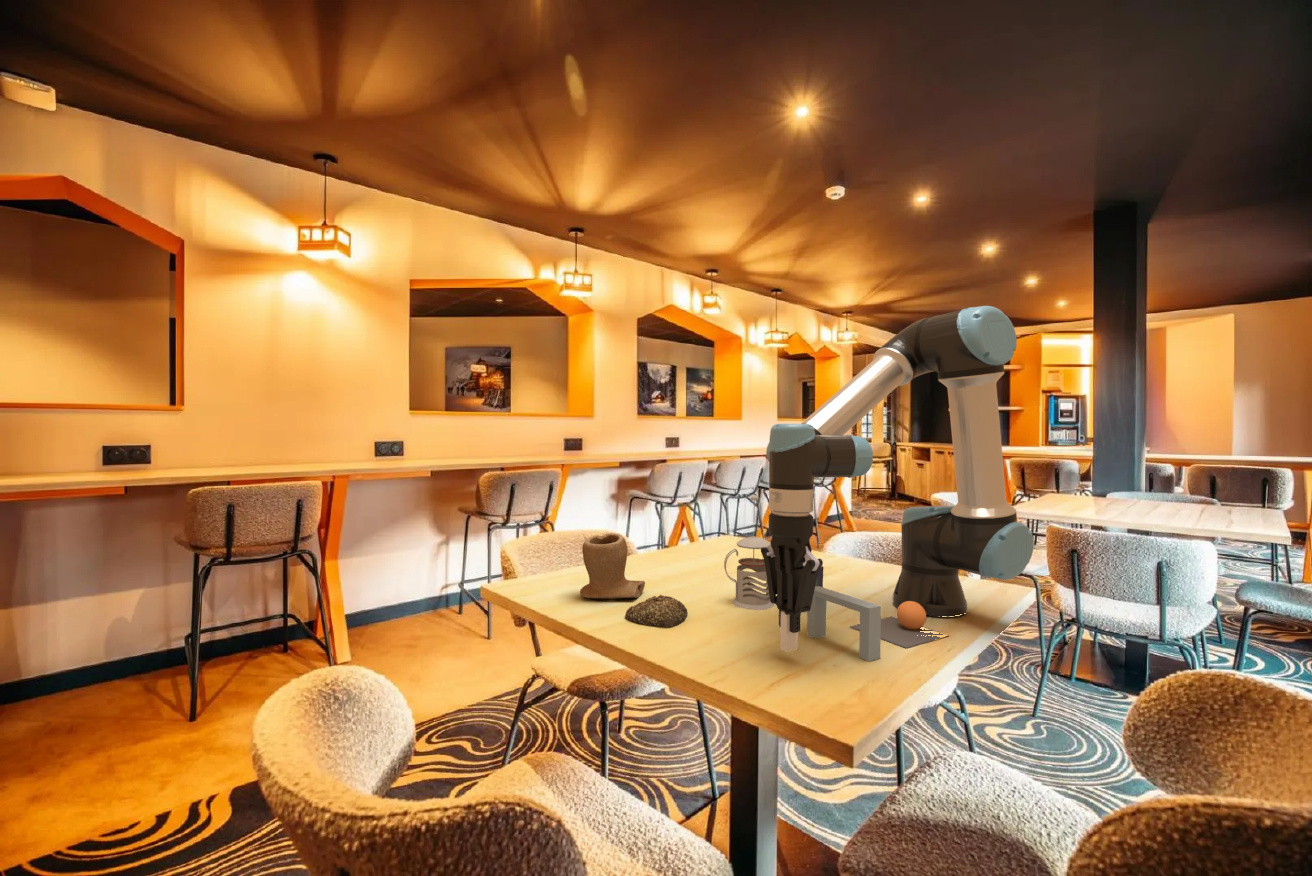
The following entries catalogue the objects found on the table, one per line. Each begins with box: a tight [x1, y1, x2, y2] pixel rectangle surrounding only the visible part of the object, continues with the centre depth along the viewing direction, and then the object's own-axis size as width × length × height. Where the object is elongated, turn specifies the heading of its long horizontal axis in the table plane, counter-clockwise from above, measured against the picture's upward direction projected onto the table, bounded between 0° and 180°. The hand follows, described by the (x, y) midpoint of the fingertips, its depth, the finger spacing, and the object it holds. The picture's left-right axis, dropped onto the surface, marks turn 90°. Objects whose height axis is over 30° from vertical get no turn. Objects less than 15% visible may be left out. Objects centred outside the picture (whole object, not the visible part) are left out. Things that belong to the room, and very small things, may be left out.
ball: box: [896, 601, 927, 630], centre depth 114 cm, size 6×6×6 cm
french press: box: [723, 494, 776, 611], centre depth 131 cm, size 10×12×25 cm
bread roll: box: [624, 594, 689, 629], centre depth 120 cm, size 13×12×5 cm
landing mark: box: [849, 616, 944, 649], centre depth 113 cm, size 13×13×1 cm
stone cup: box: [579, 532, 646, 599], centre depth 134 cm, size 15×12×15 cm
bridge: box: [806, 586, 882, 662], centre depth 105 cm, size 3×14×9 cm, turn 30°
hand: (789, 648), depth 98 cm, fingers closed
